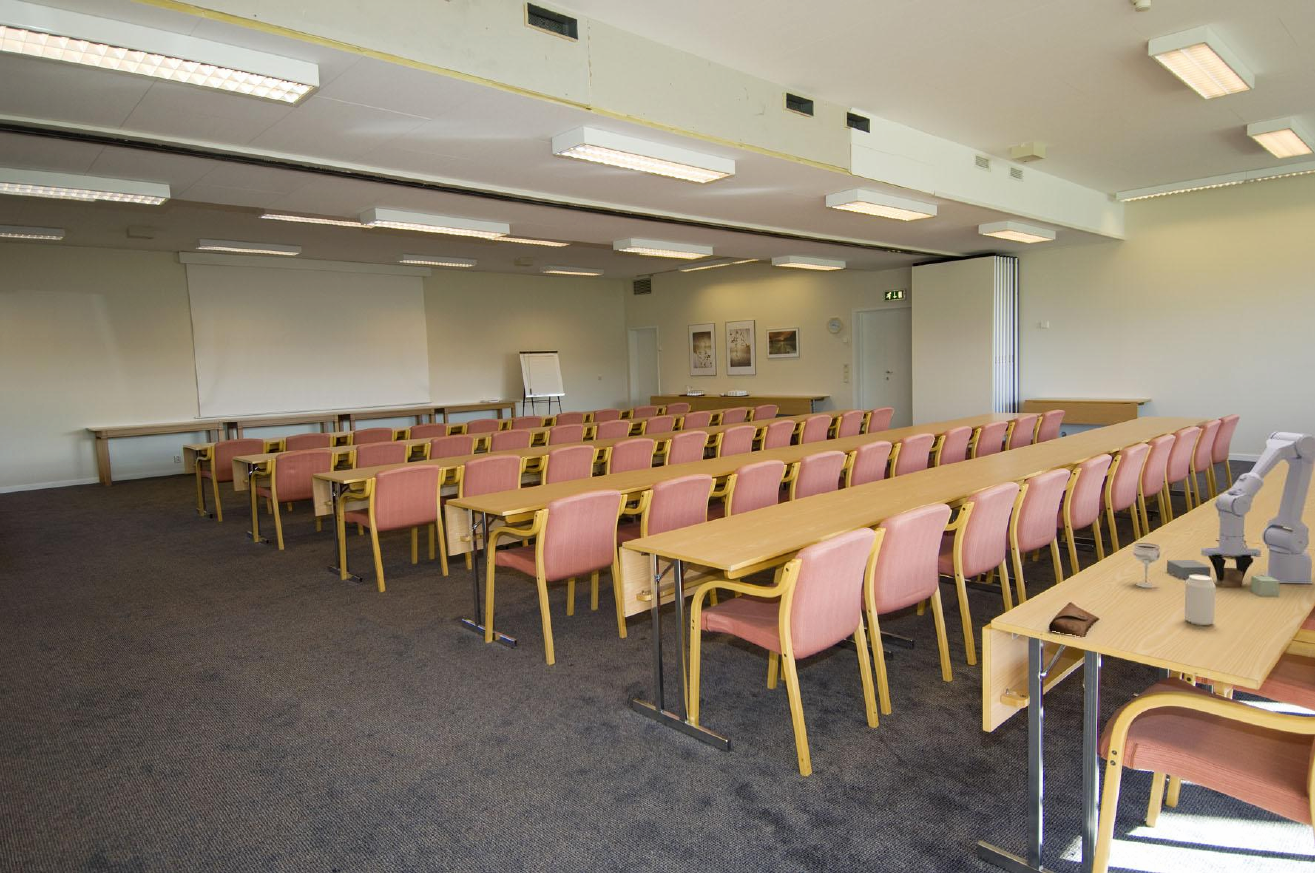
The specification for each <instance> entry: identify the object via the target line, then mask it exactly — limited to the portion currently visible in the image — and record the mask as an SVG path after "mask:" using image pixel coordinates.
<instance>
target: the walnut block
mask: <svg viewBox="0 0 1315 873" xmlns="http://www.w3.org/2000/svg"><path fill="white" fill-rule="evenodd" d="M1243 580H1244V578H1243V572H1242V571H1240V570H1238V569H1236V567H1224V577H1223V581H1220V580H1218V579H1217V578H1216V583H1218V584H1220V585H1221V586H1223V587H1224V588H1243V582H1244V581H1243Z"/></svg>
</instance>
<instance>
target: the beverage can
mask: <svg viewBox="0 0 1315 873" xmlns="http://www.w3.org/2000/svg"><path fill="white" fill-rule="evenodd" d="M1215 607H1216V583H1214V580H1213V578H1212V577H1211V576H1210V577H1209V576H1205V575H1189V578H1188V579H1186V581H1185V592H1184V619H1185V620H1186V621H1188V623H1190V622H1191V623H1190V624H1193V625H1195V624H1196V625H1195V626H1202V625H1206V626H1210V625H1211V624H1214V622H1215Z"/></svg>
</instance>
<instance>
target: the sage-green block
mask: <svg viewBox="0 0 1315 873" xmlns="http://www.w3.org/2000/svg"><path fill="white" fill-rule="evenodd" d="M1250 583H1251V585H1250V587H1251V588H1250V592H1252V593H1253V594H1256V595H1257V594H1258V595H1257V596H1260V597H1279V593H1280V583H1279V581H1278V580H1276V579H1274V578H1272V577H1270V576H1261V575H1251V582H1250Z"/></svg>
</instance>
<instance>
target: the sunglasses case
mask: <svg viewBox="0 0 1315 873" xmlns="http://www.w3.org/2000/svg"><path fill="white" fill-rule="evenodd" d="M1099 620H1100V618H1099V617H1098V616H1096V615H1094V614H1092V613H1091V612H1088V611H1086V610H1084V609H1082V608H1080V607H1078V606H1077V605H1076V604H1074V603H1073V602H1071V601H1069V602H1068V603H1067V604H1066V606H1064V607H1063V608H1062V609H1061V610H1060V611H1059V612H1058V613H1057V614H1055V616H1054V617H1053V619H1052V620H1051V621H1050V623H1049V625H1048V629H1049V630H1048V631H1050V632H1051V631H1056V632H1060V633H1064V634H1072V635H1076V636H1080V637H1079V638H1082V637H1085V638H1086V636H1087V633H1088V631H1089V630H1090V629H1091V628H1092V626H1093V625H1094V624H1095V623H1096V622H1097V621H1099ZM1094 622H1095V623H1094ZM1093 623H1094V624H1093ZM1091 625H1092V626H1091ZM1089 628H1090V629H1089ZM1088 629H1089V630H1088ZM1086 632H1087V633H1086ZM1085 635H1086V636H1085Z"/></svg>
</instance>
